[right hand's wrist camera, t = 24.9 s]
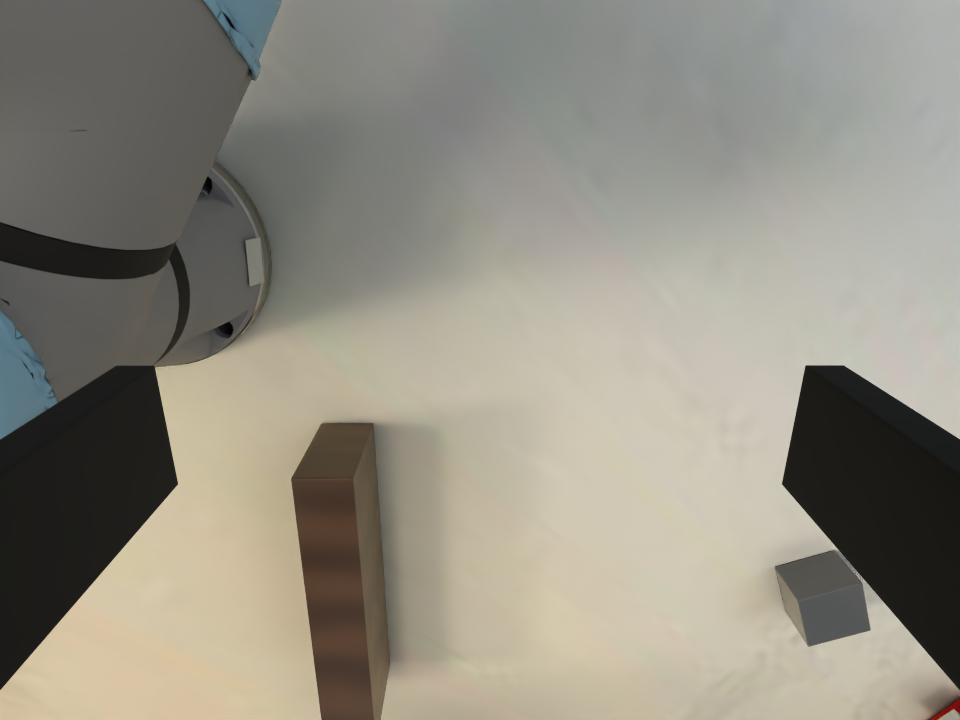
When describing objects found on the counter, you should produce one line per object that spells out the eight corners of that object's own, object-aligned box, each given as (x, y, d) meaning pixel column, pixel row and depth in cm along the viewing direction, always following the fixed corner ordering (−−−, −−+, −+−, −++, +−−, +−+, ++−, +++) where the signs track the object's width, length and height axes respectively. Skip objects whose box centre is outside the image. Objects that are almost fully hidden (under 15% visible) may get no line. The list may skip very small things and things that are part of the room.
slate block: (785, 610, 53) (808, 647, 49) (774, 566, 51) (797, 600, 47) (843, 595, 52) (871, 630, 49) (834, 549, 51) (862, 582, 47)
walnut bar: (390, 663, 55) (376, 746, 47) (345, 663, 55) (324, 746, 47) (373, 423, 47) (353, 478, 39) (321, 423, 47) (290, 478, 39)
